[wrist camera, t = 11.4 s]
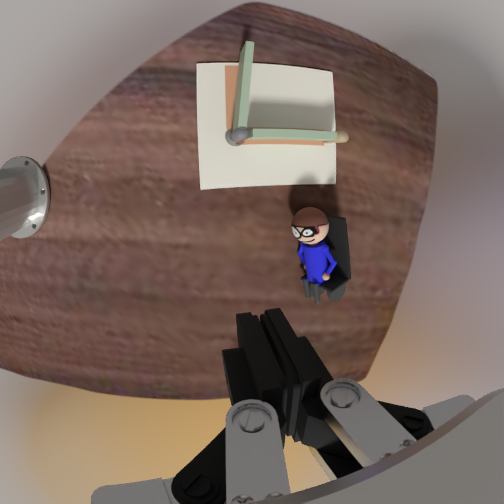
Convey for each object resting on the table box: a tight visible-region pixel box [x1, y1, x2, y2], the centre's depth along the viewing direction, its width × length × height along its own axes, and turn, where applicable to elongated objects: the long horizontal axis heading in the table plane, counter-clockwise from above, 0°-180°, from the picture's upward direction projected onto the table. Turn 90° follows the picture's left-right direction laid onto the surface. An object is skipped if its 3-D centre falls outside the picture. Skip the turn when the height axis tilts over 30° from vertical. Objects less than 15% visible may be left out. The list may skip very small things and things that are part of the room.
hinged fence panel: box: [230, 41, 254, 142], centre depth 30 cm, size 13×2×4 cm, turn 175°
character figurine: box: [292, 207, 351, 304], centre depth 39 cm, size 8×7×15 cm
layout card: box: [197, 63, 336, 190], centre depth 35 cm, size 20×18×1 cm
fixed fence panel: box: [245, 129, 349, 143], centre depth 33 cm, size 13×2×5 cm, turn 92°
